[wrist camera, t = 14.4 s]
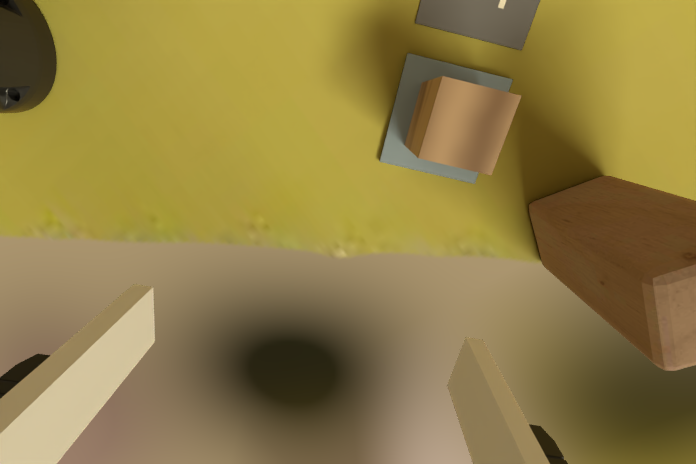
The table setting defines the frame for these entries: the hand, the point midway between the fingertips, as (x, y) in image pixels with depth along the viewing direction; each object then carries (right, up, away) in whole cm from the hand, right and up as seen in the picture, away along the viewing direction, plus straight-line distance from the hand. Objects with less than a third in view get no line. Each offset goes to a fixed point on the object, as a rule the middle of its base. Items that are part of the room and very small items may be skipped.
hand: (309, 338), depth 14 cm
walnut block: (+12, +17, +25) cm, 33 cm away
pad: (+13, +17, +25) cm, 33 cm away
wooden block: (+30, +6, +30) cm, 43 cm away
